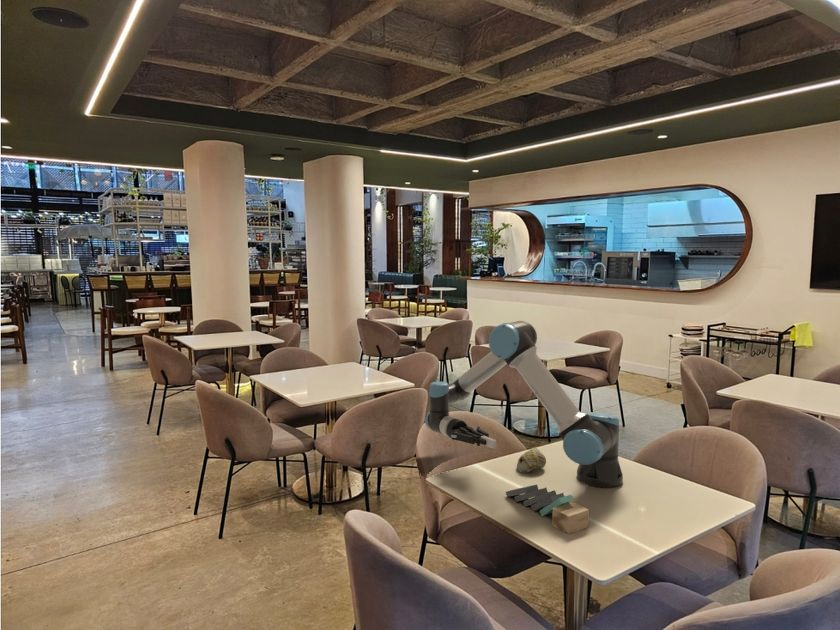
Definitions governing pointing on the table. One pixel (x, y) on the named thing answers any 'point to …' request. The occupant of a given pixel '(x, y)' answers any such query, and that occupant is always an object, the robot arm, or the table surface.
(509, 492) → the domino
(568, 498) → the domino
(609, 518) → the table surface
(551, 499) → the domino
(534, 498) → the domino
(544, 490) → the domino
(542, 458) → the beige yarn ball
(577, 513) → the stop block
